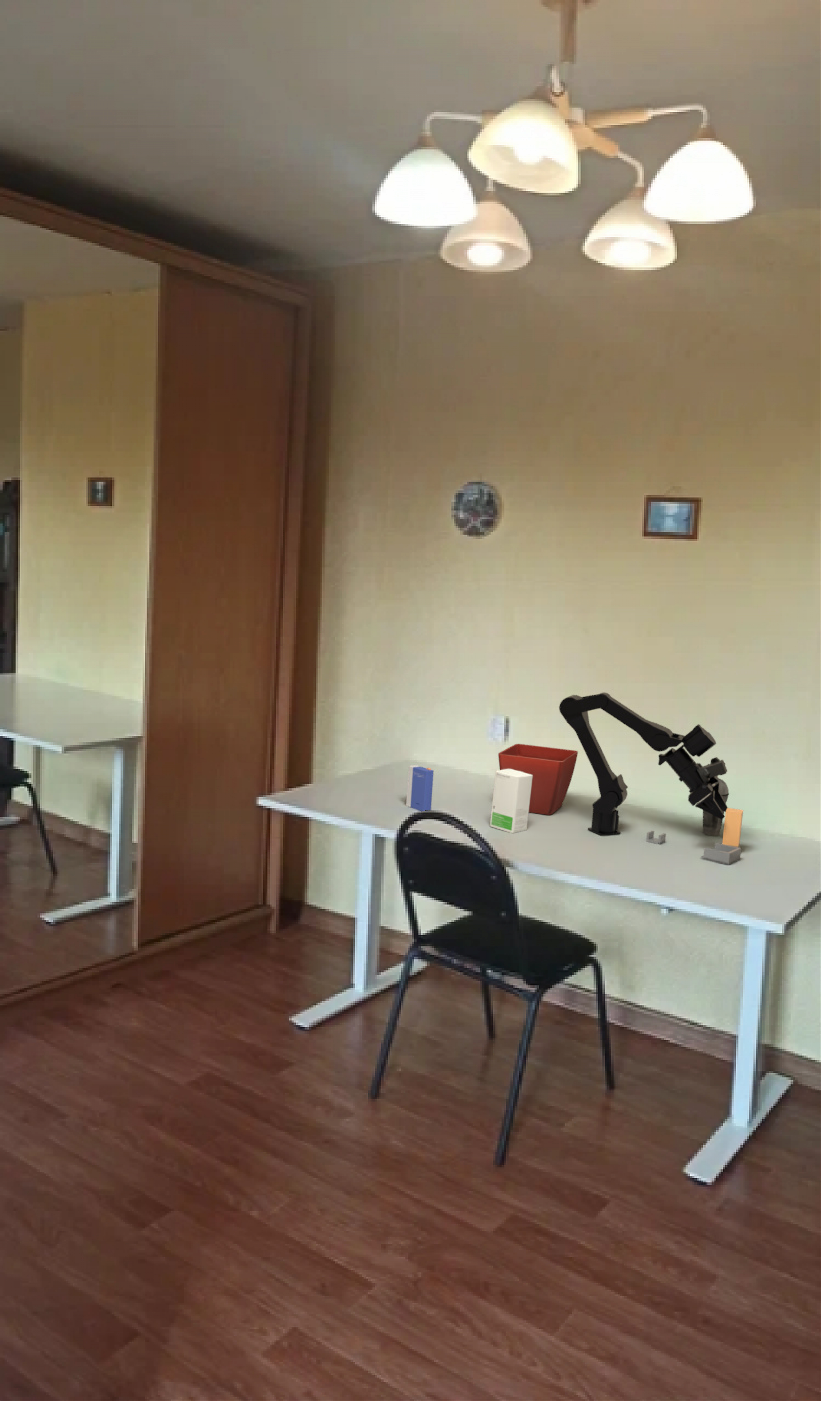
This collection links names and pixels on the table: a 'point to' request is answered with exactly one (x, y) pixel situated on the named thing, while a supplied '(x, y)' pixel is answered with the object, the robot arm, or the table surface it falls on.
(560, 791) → the plant pot
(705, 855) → the holder
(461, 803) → the table surface
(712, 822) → the beverage cup
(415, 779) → the walkman
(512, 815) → the skincare box
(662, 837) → the clip
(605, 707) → the robot arm
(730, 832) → the plug
